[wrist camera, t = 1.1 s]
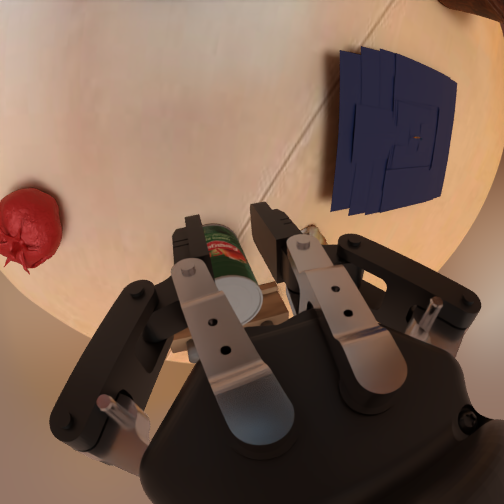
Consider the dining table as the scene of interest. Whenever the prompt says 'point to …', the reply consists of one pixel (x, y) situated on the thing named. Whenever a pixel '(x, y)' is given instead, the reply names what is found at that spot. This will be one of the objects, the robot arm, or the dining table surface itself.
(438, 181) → the navy folded cloth
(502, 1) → the case
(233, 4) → the dining table surface
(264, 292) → the bench stop
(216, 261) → the canned tomato
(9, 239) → the pomegranate
